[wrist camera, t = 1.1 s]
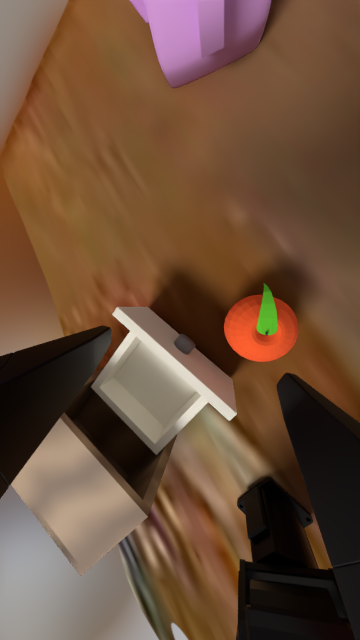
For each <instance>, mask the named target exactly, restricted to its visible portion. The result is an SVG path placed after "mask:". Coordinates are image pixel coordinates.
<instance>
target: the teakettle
mask: <svg viewBox="0 0 360 640" xmlns="http://www.w3.org/2000/svg"><path fill="white" fill-rule="evenodd" d="M129 1H130V2H131V3H132V5H133V6H134V7H135V9H136V10H137V11H138V13H139V14H140V15H141V17H142V18H143V19H144V21H145V22H146V23H149V24H150V29H151V33H152V37H153V41H154V45H155V49H156V53H157V56H158V60H159V63H160V66H161V68H162V71H163V73H164V75H165V77H166V79H167V81H168V83H169V85H170V86H171V87H172V88H178V87H180V86H183V85H186V84H188V83H190V82H193V81H195V80H197V79H199V78H201V77H204V76H206V75H208V74H210V73H212V72H214V71H216V70H218V69H220V68H222V67H224V66H226V65H228V64H230V63H232V62H234V61H236V60H237V59H239V58H241V57H243V56H245V55H246V54H248V53H250V52H251V51H253V50H254V49H255V48H256V47H257V46H258V45H259V42H260V40H261V37H262V34H263V31H264V28H265V25H266V21H267V18H268V14H269V10H270V5H271V0H129Z"/></svg>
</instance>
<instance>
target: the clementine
mask: <svg viewBox="0 0 360 640" xmlns="http://www.w3.org/2000/svg"><path fill="white" fill-rule="evenodd" d="M224 332H225V336H226V339H227V342H228V343H229V345H230V346H231V347H232V349H233V350H234V351H236V352H237V353H238V354H239V355H240V356H242V357H244V358H246V359H248V360H253V361H257V362H263V361H271V360H275V359H278V358H279V357H281V356H283V355H285V354H286V353H287V352H288V351H289V350H290V349H291V348H292V347H293V345H294V344H295V342H296V340H297V336H298V332H299V330H298V321H297V318H296V315H295V313H294V312H293V310H292V309H291V308H290V307H289V305H287V304H286V303H285V302H283V301H282V300H280V299H277V298H275V297H273V296H272V293H271V291H270V289H269V287H268V286H267V285H266V284H265V283H264V292H263V295H253V296H249V297H246V298H243V299H241V300H240V301H238V302H237V303H236V304H234V305H233V307H232V308H231V309H230V310H229V312H228V314H227V316H226V318H225V323H224Z"/></svg>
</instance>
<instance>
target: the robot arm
mask: <svg viewBox="0 0 360 640" xmlns="http://www.w3.org/2000/svg"><path fill="white" fill-rule="evenodd" d="M110 343H111V328H110V327H107V326H99V327H96V328H92V329H89V330H86V331H82V332H79V333H76V334H72V335H69V336H66V337H62V338H59V339H56V340H52V341H49V342H46V343H43V344H39V345H36V346H33V347H29V348H26V349H23V350H19V351H16V352H14V353H10V354H6V355H3V356H0V498H1V497H2V496H3V494H4V493H5V492H6V490H7V489H8V487H9V485H11V483H12V482H13V481H14V479H15V478H16V476H17V475H18V474H19V472H20V471H21V470H22V468H23V467H24V466H25V464H26V463H27V462H28V460H29V459H30V458H31V456H32V455H33V454H34V452H35V451H36V449H37V448H38V447H39V445H40V444H41V443H42V441H43V440H44V439H45V437H46V436H47V435H48V433H49V432H50V431H51V429H52V428H53V427H54V425H55V424H56V422H57V421H58V420H59V418H60V417H61V416H62V414H63V413H64V412H65V410H66V409H67V408H68V406H69V405H70V404H71V402H72V401H73V400H74V398H75V397H76V395H77V394H78V393H79V391H80V390H81V389H82V387H83V386H84V385H85V383H86V382H87V381H88V379H89V378H90V377H91V375H92V374H93V372H94V371H95V369H96V368H97V366H98V364H99V363H100V361H101V359H102V357H103V356H104V354H105V352H106V351H107V349H108V347H109V345H110ZM277 391H278V396H279V400H280V405H281V409H282V414H283V418H284V421H285V424H286V427H287V431H288V434H289V437H290V440H291V443H292V446H293V449H294V452H295V455H296V458H297V461H298V464H299V467H300V470H301V473H302V477H303V480H304V483H305V486H306V489H307V492H308V495H309V498H310V501H311V504H312V507H313V510H314V513H315V516H316V519H317V522H318V526H319V529H320V532H321V535H322V538H323V541H324V544H325V547H326V550H327V553H328V556H329V559H330V562H331V565H332V567H333V568H328V570H325V569H319V568H318V565H317V562H316V559H315V557H314V554H313V551H312V548H311V546H310V543H309V540H308V538H307V535H306V532H305V529H304V528H305V527H306V526H308V525H310V524H311V523H312V522H313V519H312V517H311V515H310V513H309V512H307V511H306V510H305V509H304V508H303V507H302V506H301V505H300V504H299V503H298V502H297V501H296V500H295V499H293V498H292V497H291V496H290V495H289V494H288V493H287V492H286V491H285V490H284V489H283V488H282V487H281V486H280V485H278V484H277V483H276V482H275V481H274V480H273V479H272V478H266V479H265V480H264V481H262V482H261V483H260V484H258V485H257V486H256V487H254V488H253V489H252V490H250V491H249V492H248V493H247V494H245V495H244V496H243V497H241V498H240V499H239V500H238V501H237V506H238V508H239V509H240V510H241V511H242V512H243V513H244V514H245V515H246V524H247V533H248V538H249V539H250V543H251V552H252V560H253V562H247V561H245V560H242V559H240V571H239V578H238V626H237V635H236V640H360V423H359V422H357V421H356V420H355V419H353V418H352V417H351V416H349V415H348V414H347V413H345V412H344V411H343V410H341V409H340V408H339V407H337V406H336V405H335V404H334V403H332V402H331V401H330V400H328V399H327V398H326V397H324V396H323V395H322V394H320V393H319V392H318V391H316V390H315V389H314V388H312V387H311V386H310V385H308V384H307V383H306V382H305V381H303V380H302V379H301V378H299V377H298V376H297V375H295V374H291V373H285V374H284V375H283V377H282V378H281V379H280V381H279V382H278V383H277Z"/></svg>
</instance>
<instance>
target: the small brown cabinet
mask: <svg viewBox="0 0 360 640" xmlns="http://www.w3.org/2000/svg"><path fill="white" fill-rule="evenodd" d="M103 369H104V368H102V369H100V370H98V371H96V372H94V373H93V374H92V375H91V377H90V378H89V379H88V381H87V382H86V383H85V385H84V386H83V387H82V389H81V390H80V391H79V393H78V394H77V395H76V397H75V398H74V400H73V401H72V402H71V404H70V405H69V406H68V408H67V409H66V410H65V412H64V413H63V414H62V416H61V417H60V418H59V420H58V421H57V422H56V424H55V425H54V427H53V428H52V429H51V431H50V432H49V433H48V435H47V436H46V437H45V439H44V440H43V441H42V443H41V444H40V445H39V447H38V448H37V449H36V451H35V452H34V454H33V455H32V456H31V458H30V459H29V460H28V462H27V463H26V464H25V466H24V467H23V468H22V470H21V471H20V472H19V474H18V475H17V476H16V478H15V479H14V481H13V482H12V483H11V485H12V486H13V488H14V489H15V490H16V492H17V493H18V494H19V496H20V497H21V498H22V500H23V501H24V502H25V504H26V505H27V506H28V508H29V509H30V510H31V511H32V513H33V514H34V515H35V517H36V518H37V519H38V521H39V522H40V523H41V525H42V526H43V527H44V528H45V530H46V531H47V533H48V534H49V535H50V537H51V538H52V539H53V540H54V542H55V543H56V544H57V546H58V547H59V548H60V550H61V551H62V552H63V554H64V555H65V556H66V558H67V559H68V560H69V562H70V563H71V564H72V566H73V567H74V568H75V569H76V571H77V572H78V573H79V575H80V576H82V575H83V574H84V573H85V572H86V571H87V570H88V569H90V568H91V567H92V566H93V565H94V564H95V563H96V562H97V561H99V560H100V559H101V558H102V557H103V556H104V555H105V554H106V553H108V552H109V551H110V550H111V549H112V548H113V547H114V546H115V545H117V544H118V543H119V542H120V541H121V540H122V539H123V538H125V537H126V536H127V535H128V534H129V533H130V532H131V531H132V530H134V529H135V528H136V527H137V526H138V525H139V524H140V523H141V522H143V521H144V520H145V519H146V518H147V517H148V515H149V512H150V509H151V506H152V504H153V501H154V498H155V495H156V492H157V490H158V487H159V484H160V481H161V478H162V476H163V473H164V470H165V467H166V464H167V462H168V459H169V456H170V453H171V450H172V448H173V445H174V442H175V439H176V436H177V434H178V433H177V434H176V435H175V436H174V437H173V439H172V440H171V441H170V442H169V443H168V444H167V445H166V446H165V447H164V448H163V449H162V450H161V451H160V452H159V453H158V454H157V455H156V454H155V453H154V452H153V451H152V450H151V449H150V448H149V447H148V446H147V445H146V444H145V443H144V442H143V441H142V440H141V439H140V438H139V437H138V436H137V435H136V434H135V432H134V431H133V430H132V429H131V428H130V427H129V426H128V425H127V424H126V423H125V422H124V421H123V420H122V419H121V418H120V417H119V416H118V415H117V414H116V413H115V412H114V411H113V410H112V409H111V408H110V407H109V406H108V404H107V403H106V402H105V401H104V400H103V399H102V398H101V397H100V396H99V395H98V394H97V393H96V392H95V391H94V390H93V389H92V388H91V386H92V384H93V383H94V382H95V380H96V379H97V377H98V376H99V374H100V373H101V372H102V370H103Z"/></svg>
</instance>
